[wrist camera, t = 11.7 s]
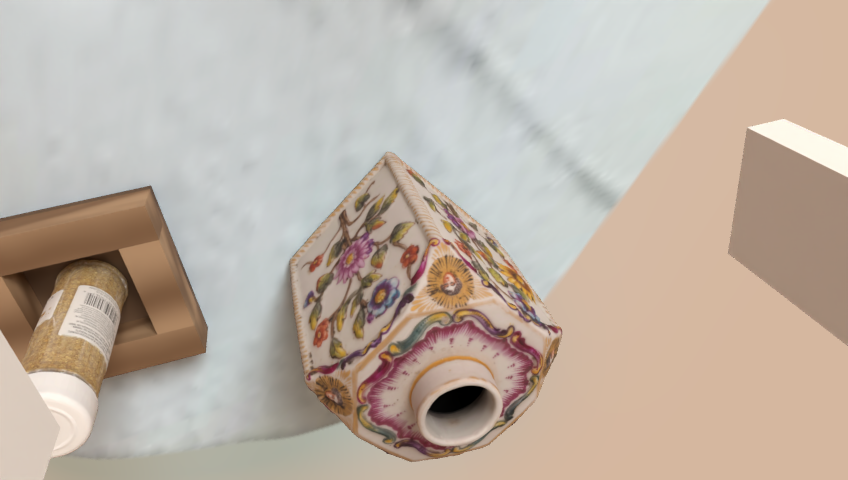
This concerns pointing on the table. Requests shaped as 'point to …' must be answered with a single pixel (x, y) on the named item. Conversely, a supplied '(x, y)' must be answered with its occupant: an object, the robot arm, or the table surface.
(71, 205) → the socket board
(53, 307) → the sprinkles bottle
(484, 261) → the decorative jar
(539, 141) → the table surface
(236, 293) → the table surface
